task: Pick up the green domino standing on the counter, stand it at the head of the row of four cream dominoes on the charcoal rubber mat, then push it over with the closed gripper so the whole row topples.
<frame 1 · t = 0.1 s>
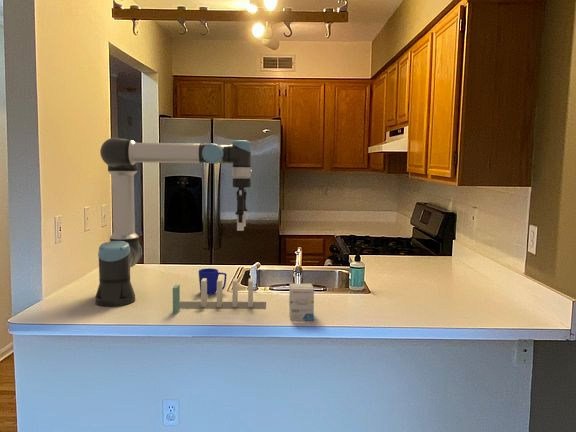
hand: (241, 228, 217), 28 cm above the worktop, fingers open, 13 cm apart
mug: (212, 294, 219), on the worktop
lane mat: (222, 306, 200), on the worktop
ink box: (301, 317, 187), on the worktop
domino 5: (250, 305, 201), resting on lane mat
domino 3: (219, 305, 200), resting on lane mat
green domino: (176, 312, 191), on the worktop
domino 2: (204, 305, 200), resting on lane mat
domino 4: (235, 305, 201), resting on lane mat
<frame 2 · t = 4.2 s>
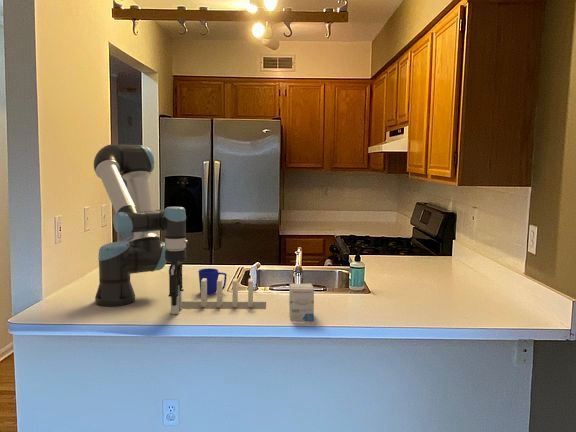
hand: (176, 311, 191), 1 cm above the worktop, fingers closed on green domino, 5 cm apart
green domino: (176, 312, 191), on the worktop, touching gripper
everything else where it was.
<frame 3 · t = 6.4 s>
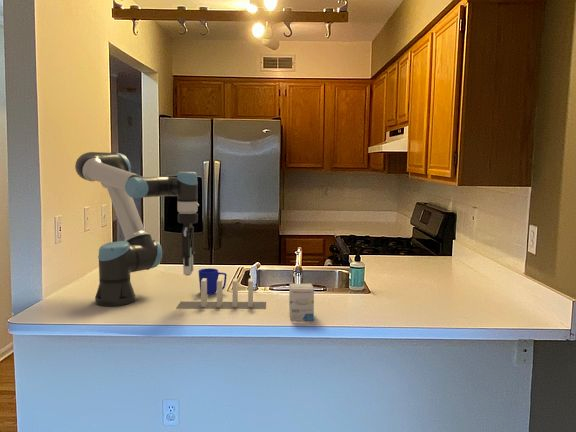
hand: (188, 272, 199), 13 cm above the worktop, fingers closed on green domino, 5 cm apart
green domino: (188, 274, 199), point 13 cm above the worktop, touching gripper
everything else where it was.
when the fingers open (2 cm above the worktop, at t = 8.6 s): green domino stays where it is, resting on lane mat.
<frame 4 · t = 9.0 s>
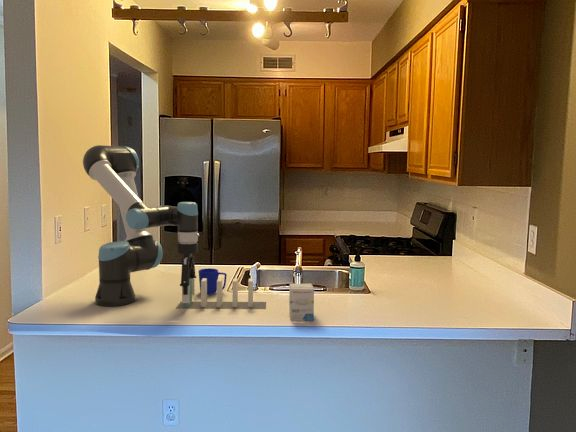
hand: (188, 298, 200), 3 cm above the worktop, fingers open, 11 cm apart
green domino: (188, 304, 200), resting on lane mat
everything else where it was.
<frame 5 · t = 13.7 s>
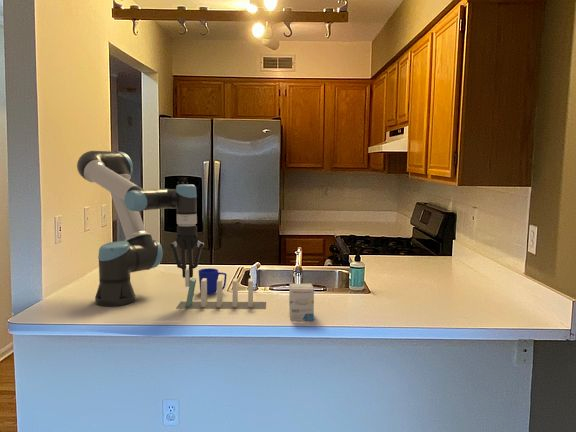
hand: (187, 285, 199), 8 cm above the worktop, fingers closed
green domino: (188, 304, 200), point 1 cm above the worktop, tilted 11°, touching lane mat
everything else where it was.
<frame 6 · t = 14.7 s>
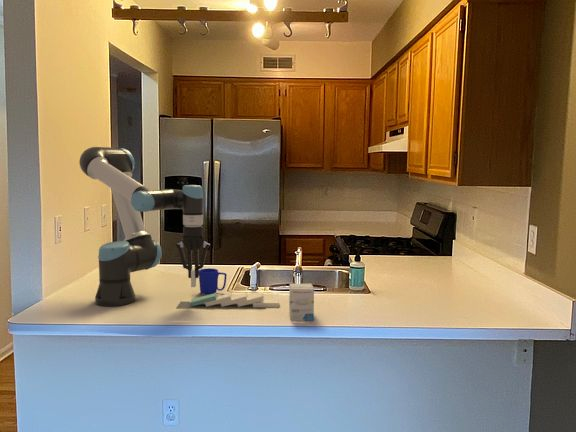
hand: (193, 286, 199), 8 cm above the worktop, fingers closed
domino 5: (253, 303, 201), point 1 cm above the worktop, tilted 90°, touching domino 4, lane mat
domino 3: (222, 303, 200), point 1 cm above the worktop, tilted 75°, touching domino 2, domino 4, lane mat
green domino: (191, 303, 200), point 1 cm above the worktop, tilted 74°, touching domino 2, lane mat
domino 2: (206, 303, 200), point 1 cm above the worktop, tilted 74°, touching domino 3, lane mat, green domino
domino 4: (238, 303, 201), point 1 cm above the worktop, tilted 74°, touching domino 3, domino 5, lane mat
everything else where it was.
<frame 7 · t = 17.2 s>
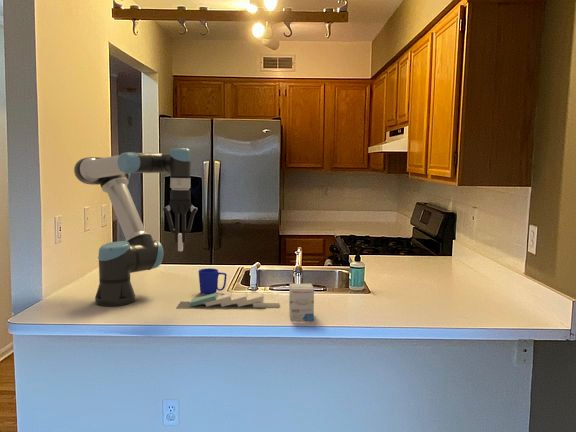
hand: (180, 250, 198), 22 cm above the worktop, fingers closed
nothing on the worktop moved.
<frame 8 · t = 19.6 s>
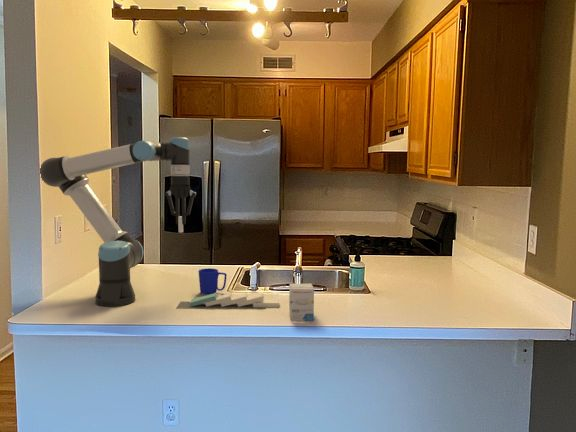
hand: (180, 232, 215), 26 cm above the worktop, fingers closed
nothing on the worktop moved.
at the end: domino 5 tilted 90°; green domino inside the target area (0.4 cm from its centre), point 1.2 cm above the worktop; green domino tilted 74° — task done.
